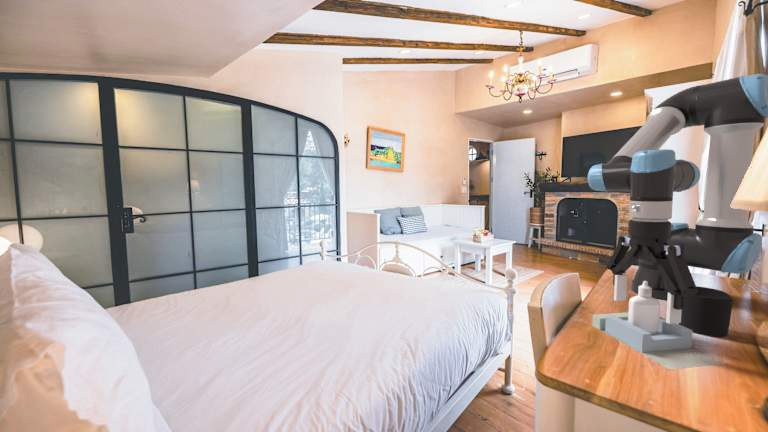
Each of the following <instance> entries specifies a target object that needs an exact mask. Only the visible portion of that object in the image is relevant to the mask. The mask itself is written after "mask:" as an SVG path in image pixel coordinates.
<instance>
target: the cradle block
mask: <svg viewBox="0 0 768 432" xmlns="http://www.w3.org/2000/svg"><path fill="white" fill-rule="evenodd" d="M692 331H693V330H691V329H688V328H686V327H683V326H681V325H679V323H673V324H669V323H666V318H664V317H662V316H660V315H659V329H658V333H656V334H651V333H649V332H647V331H645V330H643V329H640V328H638V327H636V326H634V325H632V324H630V323H628V320H622V319H620V318H618V317H616V316H614V315H611V316H606V323H605V333H606V332H607V335H608V334H610V335H609V336H614V339H615V338H617V340H621V341H623V342H624V343H626V344H627V345H628V346H629V347H630V348H631V347H632V348H635V349H637V350H638V352H639V351H640V352H642V353H643V352H650V353H651V352H652V351H653V352H655V351H656V352H658V351H659V352H660V351H662V350H663V351H664V350H669V351H670V350H671V351H672V350H673V349H675V350H676V349H678V350H679V349H686V348H687V349H688V348H690V349H691V348H692V345H693V344H692V343H693V332H692ZM623 342H622V343H623ZM624 343H623V344H624ZM637 350H636V351H637ZM663 351H662V352H663Z"/></svg>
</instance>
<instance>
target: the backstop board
mask: <svg viewBox="0 0 768 432" xmlns="http://www.w3.org/2000/svg"><path fill="white" fill-rule="evenodd" d="M628 312H629V311H627V312H614V313H599V314H598V313H597V314H592V325H591V326H592V327H593V328H596V329H598V331H601V332H602V333H604V334H606V335H608V336H610V337H612V339H615V340H617V341H618V342H620V343H622V344H623V345H625V346H627V347H629V345H628V344H626V343H624V342H623V341H621V340H619V339H617V338H615V337H614V336H612V335H610V334H608V333H607V332H605V323H606V316H611V315H614V316H616V317H618V318H620V319H622V320H628ZM630 349H632V350H634V351H636V352H638V353H640V354H641V355H643V356H644V357H646V358H648V359H650V360H652V361H653V362H655V363H658V365H661V366H662V367H664V368H666V369H667V370H676V369H682V368H684V369H689V368H699V367H700V368H701V367H706V366H707V367H708V366H716V365H718V366H719V365H724V362H723V361H722V360H719V359H718V358H715V357H714V356H712V355H707V353H705V352H703V351H701V350H698V349H696V348H694V347H691V348H685V349H673V350H662V351H651V352H640V351H639V350H637V349H635V348H633V347H631V346H630Z"/></svg>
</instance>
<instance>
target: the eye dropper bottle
mask: <svg viewBox="0 0 768 432" xmlns="http://www.w3.org/2000/svg"><path fill="white" fill-rule="evenodd" d="M651 296H652V288H651V287H649V286H648V282H647V281H643V284H642V285H641V286H639V287H638V293H637V295H634V296H632V297H630V298H629V300H628V311H627V312H628V323H630V324H632V325H634V326H636V327H638V328H640V329H643V330H645V331H647V332H649V333H651V334H656V333H658V329H659V316H660V311H661V304H660V301H659V300H658V298H653V297H651Z"/></svg>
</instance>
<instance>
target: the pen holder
mask: <svg viewBox="0 0 768 432" xmlns="http://www.w3.org/2000/svg"><path fill="white" fill-rule="evenodd" d="M696 287H697V290H698V292H697V293H695V294H687V295H686V301H685V308H684V309H682V313H681V323H678V324H679V325H681V326H683V327H686V328H688V329H691V330H693V331H692V334H697V335H700V336H706V337H711V338H725V337H727V336H728V335H729V329H730V323H731V316H732V310H733V304H734V300H733V298H732V297H731V295H730V294H728V293H727V292H726V291H723V290H719V289H716V288H710V287H703V286H697V285H696Z"/></svg>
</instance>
